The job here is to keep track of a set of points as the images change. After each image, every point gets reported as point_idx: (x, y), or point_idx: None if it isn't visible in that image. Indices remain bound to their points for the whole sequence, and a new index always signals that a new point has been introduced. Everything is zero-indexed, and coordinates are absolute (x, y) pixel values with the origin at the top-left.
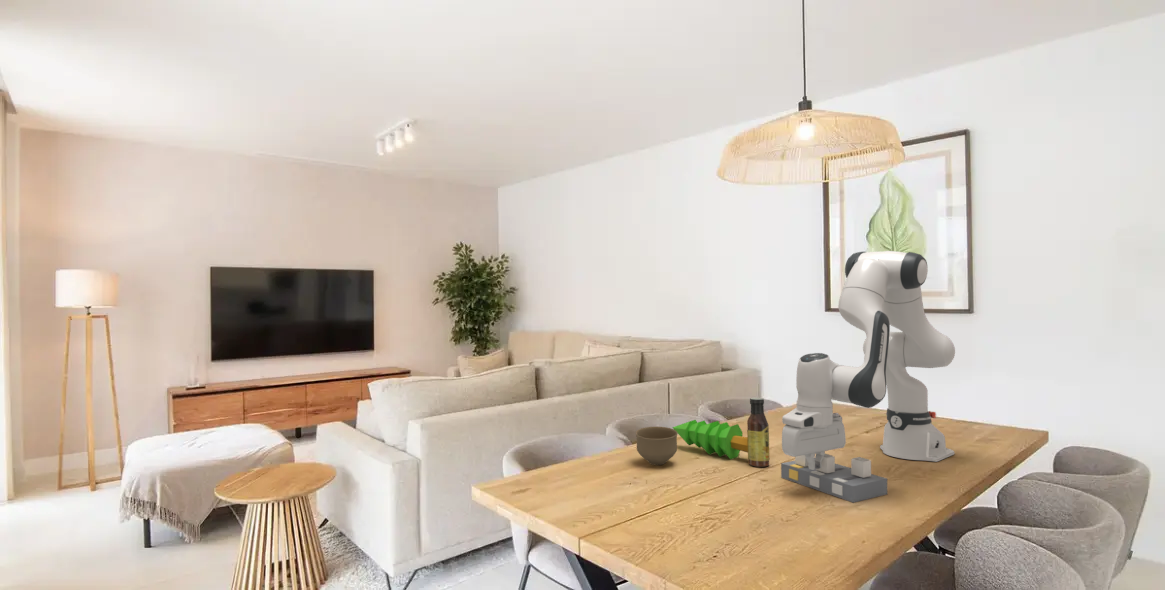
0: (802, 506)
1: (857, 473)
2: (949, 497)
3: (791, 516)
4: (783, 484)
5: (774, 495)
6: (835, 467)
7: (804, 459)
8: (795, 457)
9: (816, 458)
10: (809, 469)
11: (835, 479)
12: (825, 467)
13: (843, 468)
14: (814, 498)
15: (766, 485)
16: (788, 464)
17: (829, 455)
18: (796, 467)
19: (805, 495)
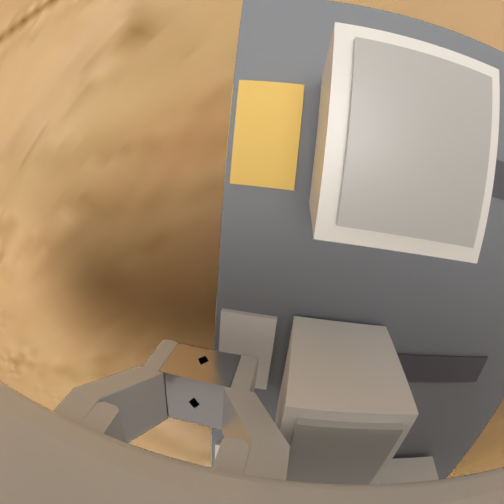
0: (51, 356)
1: None
2: None
3: (4, 361)
4: (160, 135)
5: (30, 231)
6: (480, 337)
7: (311, 202)
8: (326, 64)
9: (230, 417)
10: (286, 258)
11: (215, 453)
12: (276, 416)
13: (483, 373)
14: (132, 354)
15: (81, 107)
16: (266, 46)
17: (348, 483)
18: (232, 156)
19: (125, 313)
